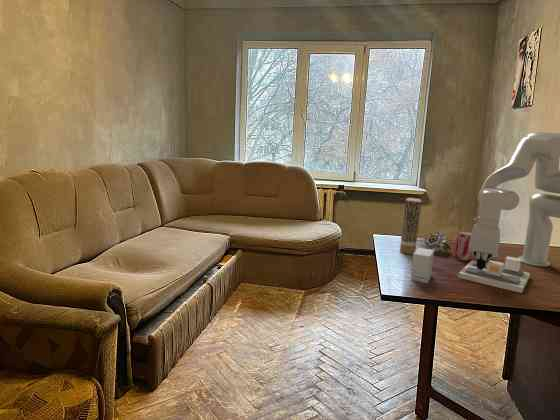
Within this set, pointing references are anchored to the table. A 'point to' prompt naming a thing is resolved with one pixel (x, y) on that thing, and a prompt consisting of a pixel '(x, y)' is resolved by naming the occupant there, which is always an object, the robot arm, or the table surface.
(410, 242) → the paper tube
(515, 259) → the block
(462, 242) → the soda can
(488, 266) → the block
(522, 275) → the panel
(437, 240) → the passion flower
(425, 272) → the skincare box
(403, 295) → the table surface
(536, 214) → the robot arm
